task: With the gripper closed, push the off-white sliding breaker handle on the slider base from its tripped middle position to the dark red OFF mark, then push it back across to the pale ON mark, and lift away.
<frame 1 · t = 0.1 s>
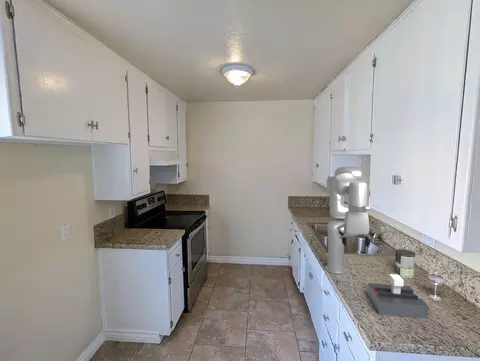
hand: (355, 245, 120), 31 cm above the countertop, tool pointing down, fingers open, 9 cm apart
breaker handle: (396, 285, 126), point 10 cm above the countertop, slide at 0.0 cm
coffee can: (404, 274, 160), on the countertop
slider base: (394, 305, 127), on the countertop
wineglass: (435, 297, 134), on the countertop
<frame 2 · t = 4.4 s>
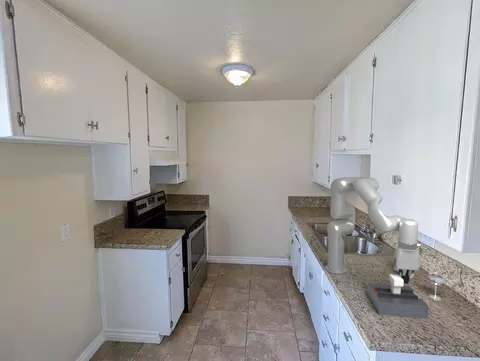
hand: (405, 282, 125), 12 cm above the countertop, tool pointing down, fingers closed
breaker handle: (395, 285, 126), point 10 cm above the countertop, slide at 0.0 cm, touching gripper
everything else where it was.
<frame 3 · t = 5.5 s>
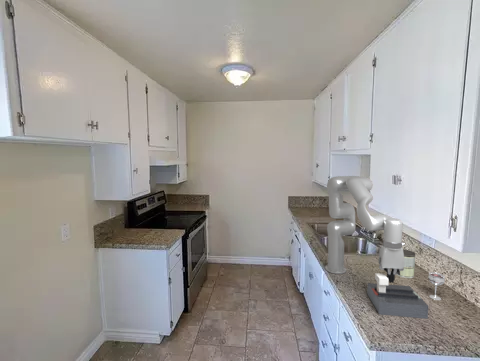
hand: (390, 281, 126), 12 cm above the countertop, tool pointing down, fingers closed
breaker handle: (381, 284, 127), point 10 cm above the countertop, slide at -6.5 cm, touching gripper
everything else where it was.
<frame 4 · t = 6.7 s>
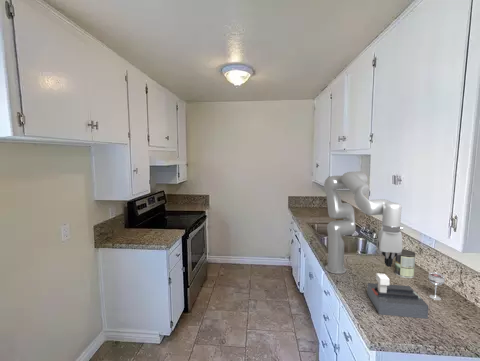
hand: (388, 265, 126), 20 cm above the countertop, tool pointing down, fingers closed
breaker handle: (382, 284, 127), point 10 cm above the countertop, slide at -6.1 cm
everything else where it was.
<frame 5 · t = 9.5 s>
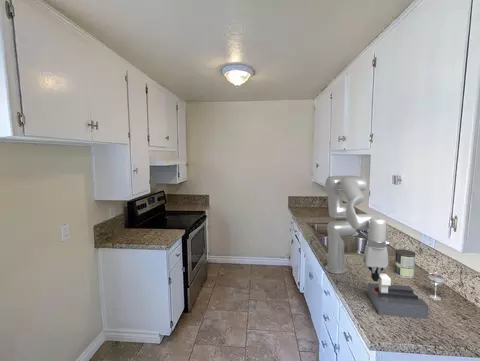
hand: (375, 280, 127), 12 cm above the countertop, tool pointing down, fingers closed
breaker handle: (383, 284, 127), point 10 cm above the countertop, slide at -5.5 cm, touching gripper
everything else where it was.
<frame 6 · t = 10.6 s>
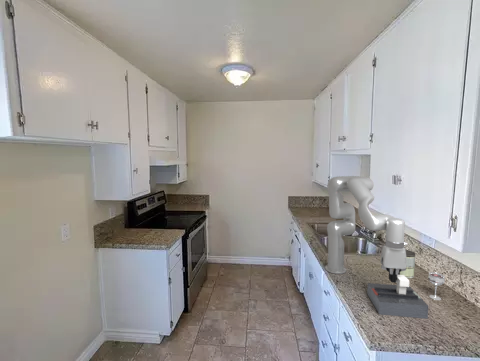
hand: (392, 281, 126), 12 cm above the countertop, tool pointing down, fingers closed
breaker handle: (401, 285, 126), point 10 cm above the countertop, slide at 2.4 cm, touching gripper
everything else where it was.
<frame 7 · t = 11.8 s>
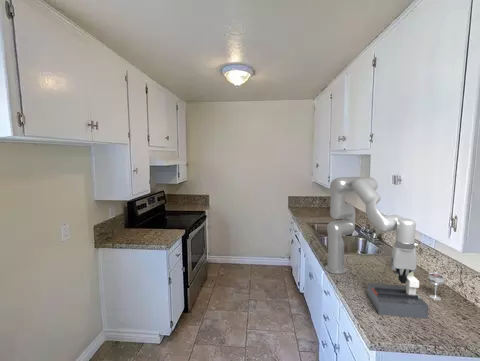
hand: (402, 282, 125), 12 cm above the countertop, tool pointing down, fingers closed
breaker handle: (411, 286, 125), point 10 cm above the countertop, slide at 6.6 cm, touching gripper
everything else where it was.
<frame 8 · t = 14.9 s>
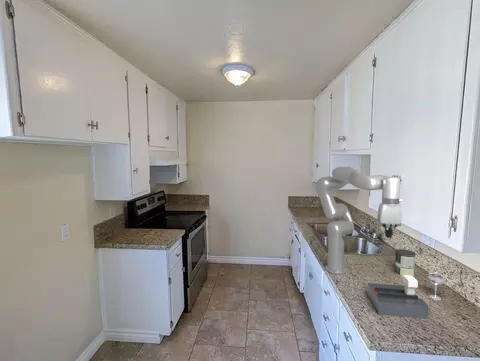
hand: (388, 237, 133), 31 cm above the countertop, tool pointing down, fingers closed
breaker handle: (409, 286, 125), point 10 cm above the countertop, slide at 6.1 cm
everything else where it was.
at the end: breaker handle slide at 6.1 cm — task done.
